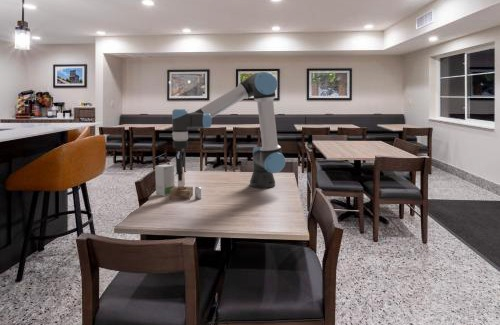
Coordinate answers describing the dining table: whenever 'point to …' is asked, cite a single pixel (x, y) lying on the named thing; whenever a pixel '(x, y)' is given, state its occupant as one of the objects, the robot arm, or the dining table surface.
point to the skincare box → (164, 179)
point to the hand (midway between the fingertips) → (181, 185)
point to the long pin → (183, 182)
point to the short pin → (197, 193)
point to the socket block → (181, 193)
